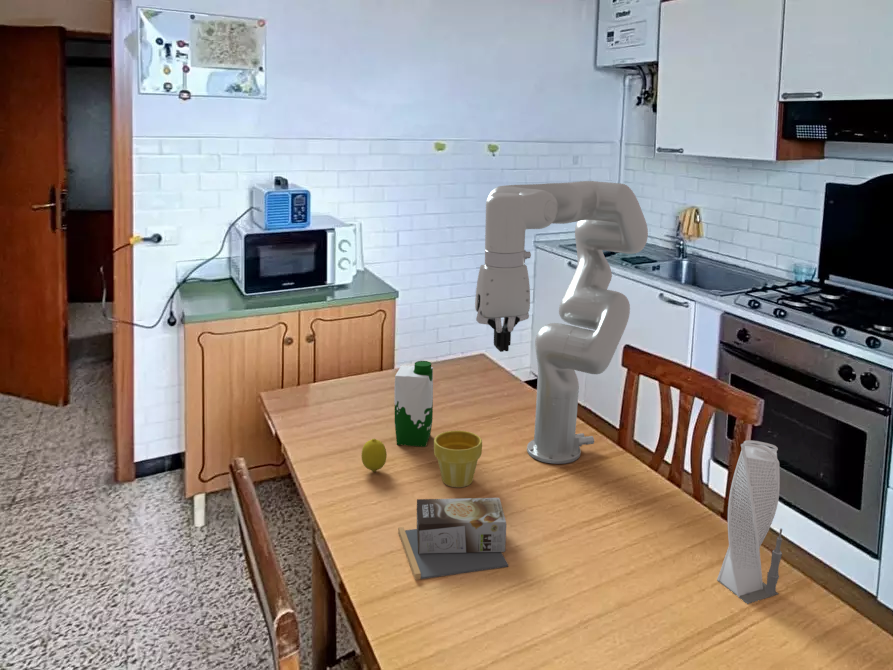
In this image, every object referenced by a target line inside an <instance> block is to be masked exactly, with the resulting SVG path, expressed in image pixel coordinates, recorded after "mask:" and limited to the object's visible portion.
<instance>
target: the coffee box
mask: <svg viewBox="0 0 893 670" xmlns="http://www.w3.org/2000/svg"><path fill="white" fill-rule="evenodd" d="M506 520H507V519H506V517H505V513H504V510H503V505H502V502H501V498H500V497H475V498H473V497H472V498H471V497H470V498H425V499H424V498H423V499H422V498H421V499H419V498H417V499H416V529H417V542H418V554H431V553H477V552H501V553H505V552H506V541H507V538H506V537H507V521H506Z"/></svg>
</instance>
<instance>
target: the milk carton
mask: <svg viewBox="0 0 893 670" xmlns="http://www.w3.org/2000/svg"><path fill="white" fill-rule="evenodd" d="M433 399H434V367H433V366H432V362H430V361H428V360H418V361H415V362H414V364H411V365H405V364H404V365H403V364H402V365H400V367H399V369H398V371H397V372H396V374H395V376H394V430H395V437H396V439H395V440H396V445H397V446H408V447H422V448H426V447H427V445H428V442H429V439H430V437H431V432H432V426H433V410H434V409H433V408H434V407H433V405H434V404H433V402H434V400H433Z"/></svg>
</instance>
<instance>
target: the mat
mask: <svg viewBox="0 0 893 670" xmlns="http://www.w3.org/2000/svg"><path fill="white" fill-rule="evenodd" d="M397 529H398V532H397V533H398V536H399V540H400V541H401V546H402V547H403V550H404V553H405V556H406V559H407V561H408V562H407V563H409V566H410V570H411V572H412V576H413V578H414V581H417V580H418V581H419V580H425V579H432V578H439V577H446V576H451V575H452V576H453V575H458V574H459V575H460V574H467V573H474V572H475V573H476V572H480V571H481V572H482V571H488V570H494V569H501V568H508V567H509V564H508V561H507V559H506V558H505V556H504V554H503V552H477V553H431V554H418V542H417V528H413V529H405V527H404V526H399V527H397Z"/></svg>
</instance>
